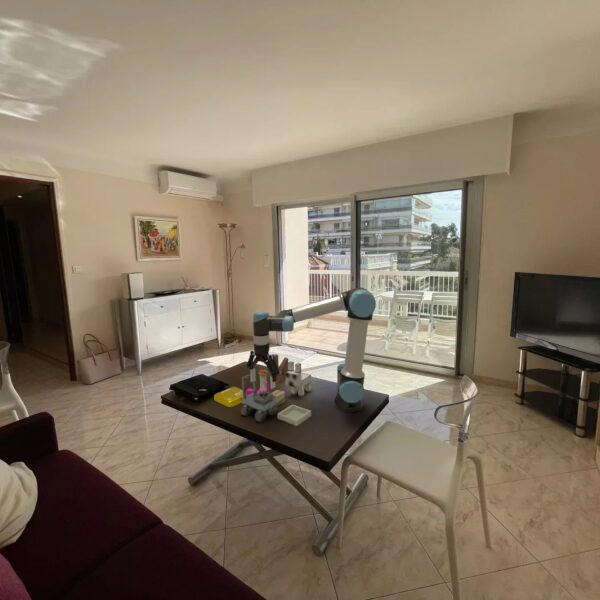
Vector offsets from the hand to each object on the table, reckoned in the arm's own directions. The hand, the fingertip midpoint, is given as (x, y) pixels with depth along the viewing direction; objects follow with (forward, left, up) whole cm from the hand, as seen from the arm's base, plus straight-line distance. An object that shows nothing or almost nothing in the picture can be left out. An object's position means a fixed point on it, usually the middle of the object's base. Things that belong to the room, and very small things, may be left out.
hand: (262, 384), depth 158 cm
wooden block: (+23, -40, -18) cm, 49 cm away
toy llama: (+2, -32, -18) cm, 37 cm away
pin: (0, 0, -8) cm, 8 cm away
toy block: (+16, -14, -18) cm, 28 cm away
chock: (+4, -15, -17) cm, 23 cm away
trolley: (+3, 0, -17) cm, 17 cm away
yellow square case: (+28, -3, -18) cm, 33 cm away
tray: (-13, -8, -17) cm, 23 cm away
